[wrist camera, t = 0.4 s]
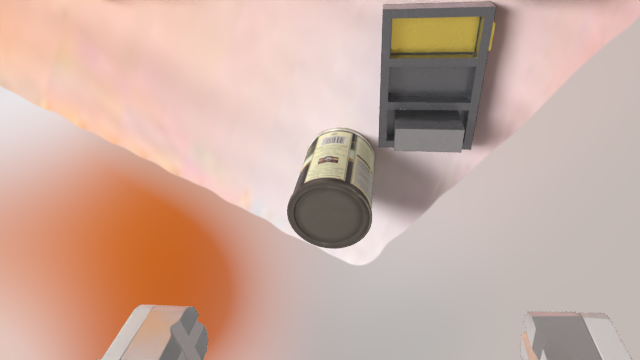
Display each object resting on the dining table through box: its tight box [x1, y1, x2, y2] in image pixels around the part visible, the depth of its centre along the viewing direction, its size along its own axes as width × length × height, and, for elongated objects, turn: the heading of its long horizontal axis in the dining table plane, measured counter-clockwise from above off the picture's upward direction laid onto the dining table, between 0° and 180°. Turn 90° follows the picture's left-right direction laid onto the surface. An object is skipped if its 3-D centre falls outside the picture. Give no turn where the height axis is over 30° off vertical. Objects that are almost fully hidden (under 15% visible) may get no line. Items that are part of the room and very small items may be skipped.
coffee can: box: [287, 128, 375, 248], centre depth 54 cm, size 10×10×14 cm
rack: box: [378, 1, 496, 152], centre depth 48 cm, size 18×12×7 cm
